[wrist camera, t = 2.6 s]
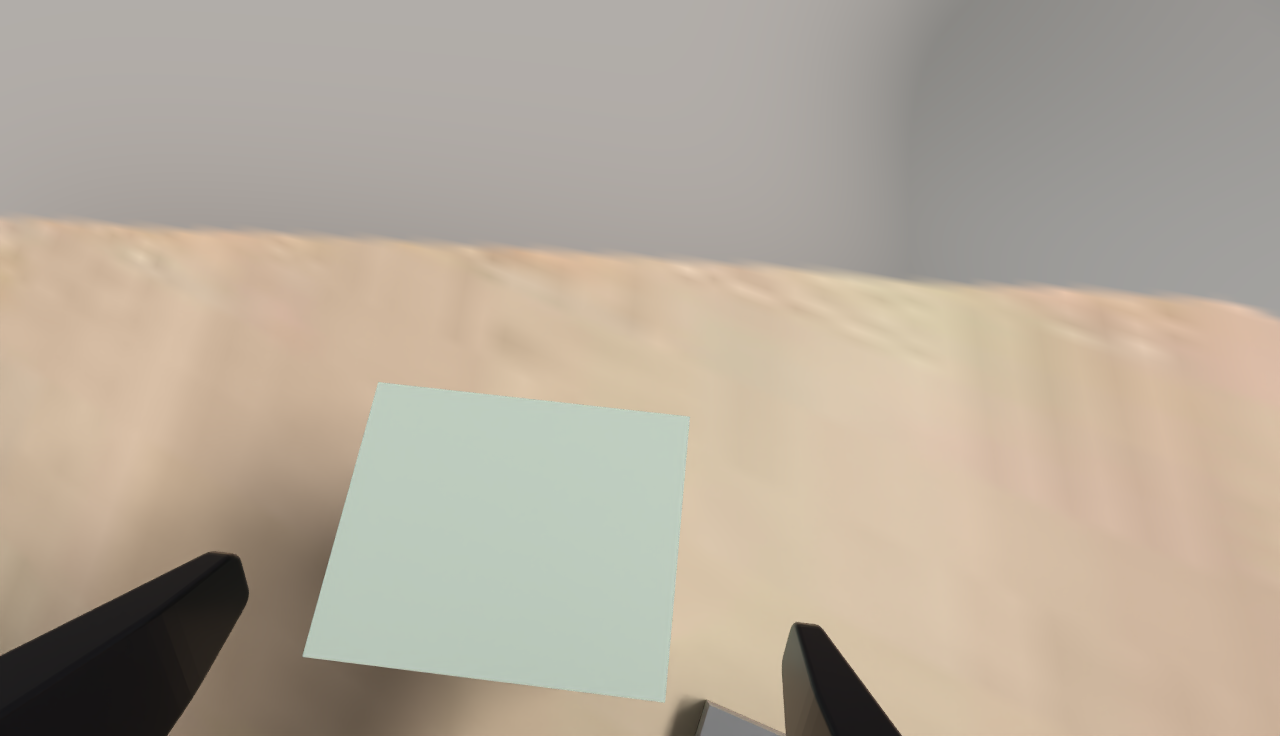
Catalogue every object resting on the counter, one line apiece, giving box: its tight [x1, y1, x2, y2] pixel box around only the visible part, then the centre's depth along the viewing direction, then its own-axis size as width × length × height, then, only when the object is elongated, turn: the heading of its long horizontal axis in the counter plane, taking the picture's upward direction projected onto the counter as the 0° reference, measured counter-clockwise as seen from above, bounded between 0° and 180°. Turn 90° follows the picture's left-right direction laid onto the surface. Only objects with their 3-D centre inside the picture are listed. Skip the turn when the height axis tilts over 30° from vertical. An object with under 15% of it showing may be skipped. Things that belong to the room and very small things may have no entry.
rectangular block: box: [302, 382, 690, 702], centre depth 13 cm, size 4×5×10 cm
